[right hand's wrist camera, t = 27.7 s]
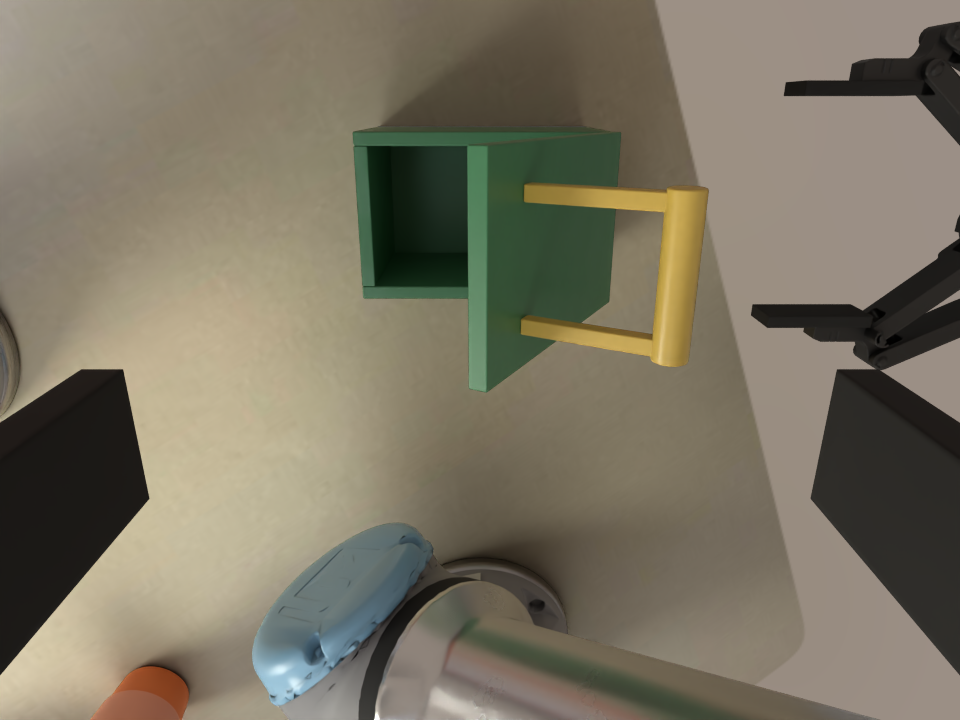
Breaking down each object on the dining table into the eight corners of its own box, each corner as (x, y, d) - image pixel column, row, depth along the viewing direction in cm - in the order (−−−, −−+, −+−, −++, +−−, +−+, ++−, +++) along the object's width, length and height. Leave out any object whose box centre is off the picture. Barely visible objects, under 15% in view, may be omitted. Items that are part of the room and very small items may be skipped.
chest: (386, 260, 48) (363, 299, 39) (379, 126, 45) (352, 131, 35) (577, 260, 48) (601, 299, 39) (584, 126, 45) (612, 131, 35)
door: (468, 389, 26) (662, 431, 23) (466, 144, 23) (692, 151, 20) (595, 300, 38) (734, 319, 35) (605, 131, 35) (760, 134, 32)
